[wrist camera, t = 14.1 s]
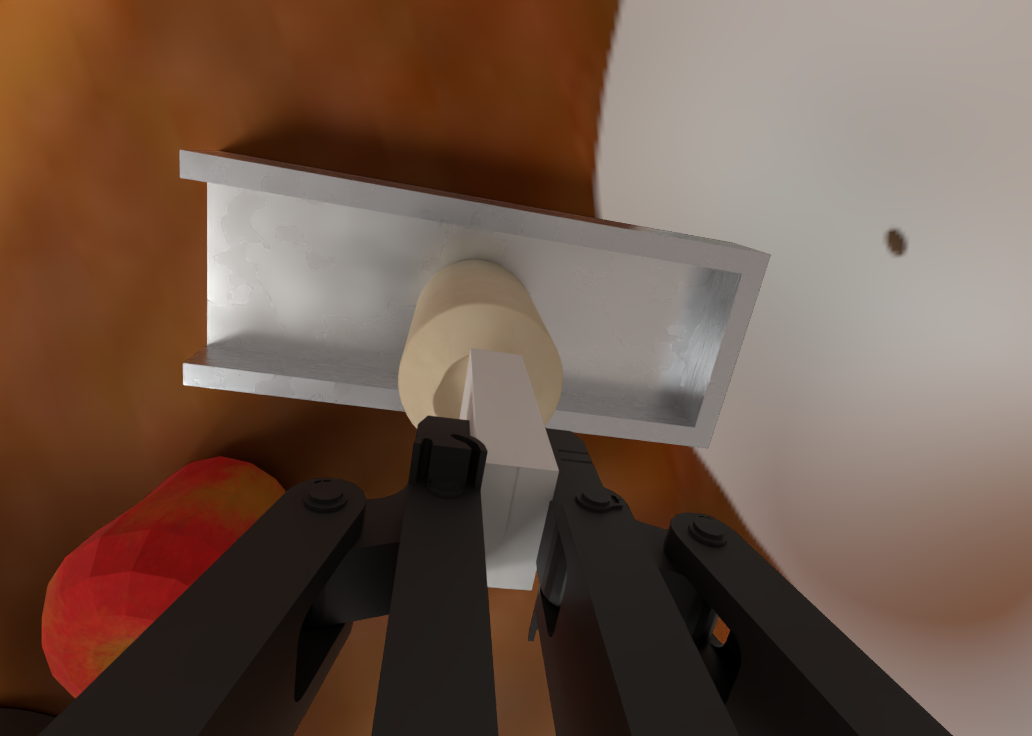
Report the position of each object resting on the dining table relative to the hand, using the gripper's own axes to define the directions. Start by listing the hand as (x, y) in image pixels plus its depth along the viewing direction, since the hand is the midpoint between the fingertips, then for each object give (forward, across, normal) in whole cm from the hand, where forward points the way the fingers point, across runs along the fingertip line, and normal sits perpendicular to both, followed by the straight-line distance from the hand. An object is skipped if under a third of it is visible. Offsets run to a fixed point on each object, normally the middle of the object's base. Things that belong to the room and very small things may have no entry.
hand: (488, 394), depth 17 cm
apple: (+12, -11, -13) cm, 21 cm away
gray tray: (+12, 0, 0) cm, 12 cm away
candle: (+11, 0, 0) cm, 11 cm away
